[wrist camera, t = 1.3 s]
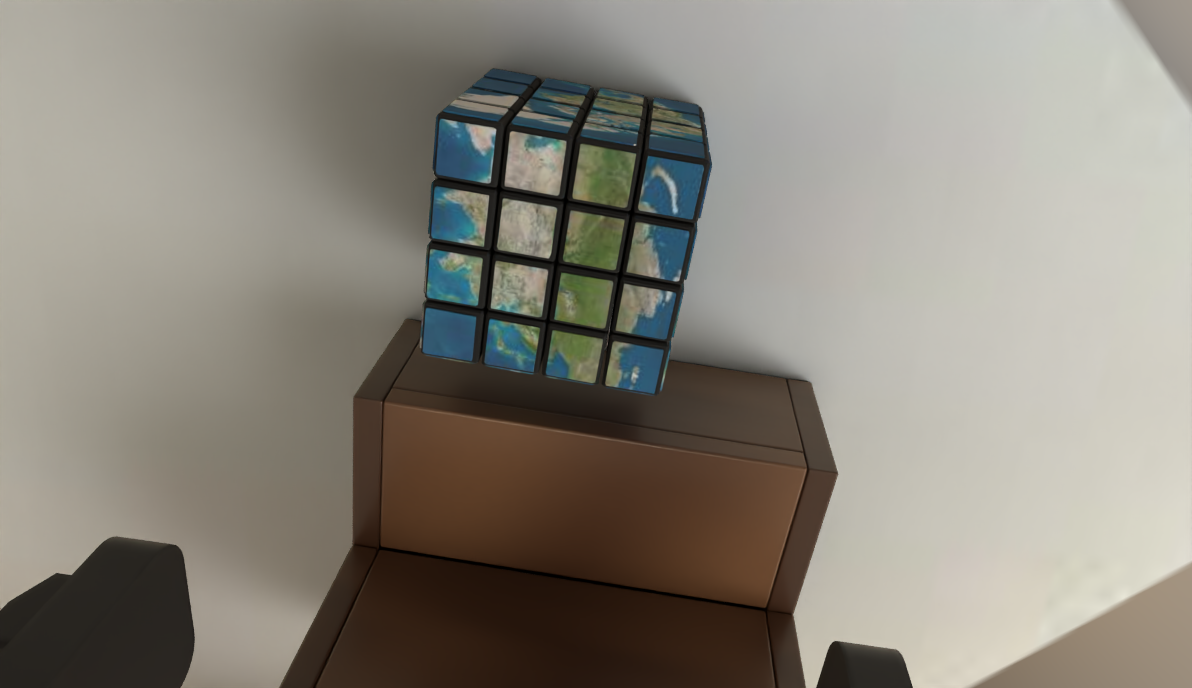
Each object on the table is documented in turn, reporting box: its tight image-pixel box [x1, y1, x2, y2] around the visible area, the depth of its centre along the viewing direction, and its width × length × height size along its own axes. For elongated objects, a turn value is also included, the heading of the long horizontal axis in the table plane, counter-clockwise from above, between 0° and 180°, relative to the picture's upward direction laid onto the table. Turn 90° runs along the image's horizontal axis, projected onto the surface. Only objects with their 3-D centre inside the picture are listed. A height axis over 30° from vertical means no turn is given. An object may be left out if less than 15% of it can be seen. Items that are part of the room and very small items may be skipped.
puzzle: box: [420, 69, 712, 396], centre depth 22 cm, size 6×6×6 cm
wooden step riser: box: [279, 319, 838, 688], centre depth 25 cm, size 13×14×11 cm
